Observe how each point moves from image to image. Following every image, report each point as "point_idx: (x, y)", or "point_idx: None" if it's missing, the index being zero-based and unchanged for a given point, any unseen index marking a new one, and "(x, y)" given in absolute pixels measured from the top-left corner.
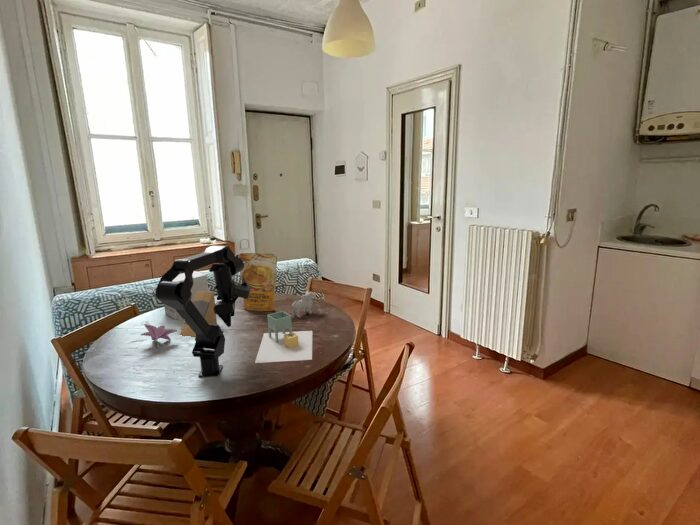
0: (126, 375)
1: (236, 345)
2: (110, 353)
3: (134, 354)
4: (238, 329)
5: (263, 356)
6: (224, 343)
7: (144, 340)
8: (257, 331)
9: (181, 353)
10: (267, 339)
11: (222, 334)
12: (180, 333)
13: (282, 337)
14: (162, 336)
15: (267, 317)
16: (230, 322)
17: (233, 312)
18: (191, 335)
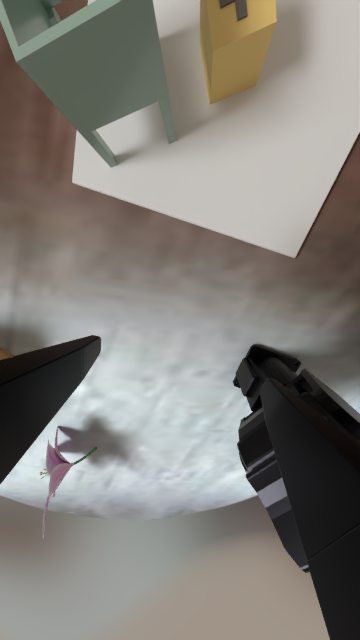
0: (190, 487)
1: (136, 293)
2: (92, 499)
3: (108, 475)
4: (18, 271)
5: (266, 219)
6: (319, 384)
7: None
8: (45, 207)
9: (134, 413)
10: (132, 177)
11: (338, 422)
12: None
13: None
14: (61, 456)
15: (37, 82)
16: (307, 405)
17: (84, 351)
18: None
